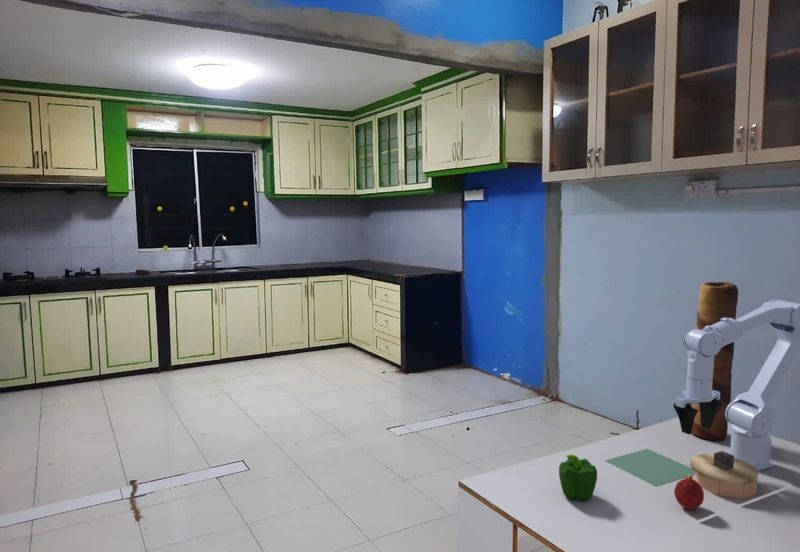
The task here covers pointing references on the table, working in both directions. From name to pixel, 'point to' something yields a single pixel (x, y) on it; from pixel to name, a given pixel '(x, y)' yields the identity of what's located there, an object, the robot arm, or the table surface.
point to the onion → (689, 493)
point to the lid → (724, 468)
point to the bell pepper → (577, 478)
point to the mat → (651, 467)
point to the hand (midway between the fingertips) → (696, 430)
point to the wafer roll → (711, 309)
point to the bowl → (726, 487)
